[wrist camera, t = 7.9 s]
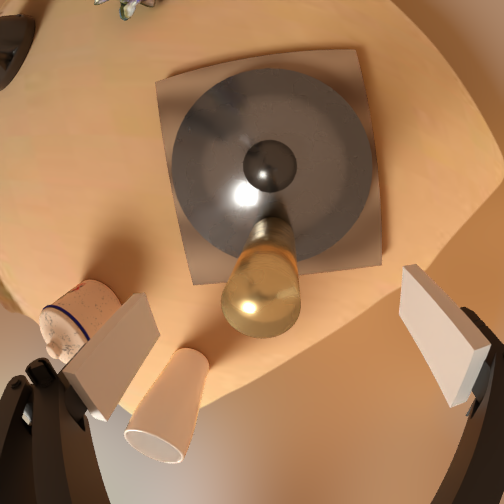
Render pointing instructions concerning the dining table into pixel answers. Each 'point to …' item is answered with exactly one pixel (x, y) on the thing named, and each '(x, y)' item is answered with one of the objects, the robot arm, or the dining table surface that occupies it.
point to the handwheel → (270, 185)
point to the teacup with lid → (76, 318)
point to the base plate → (321, 68)
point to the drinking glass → (170, 408)
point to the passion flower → (129, 6)
